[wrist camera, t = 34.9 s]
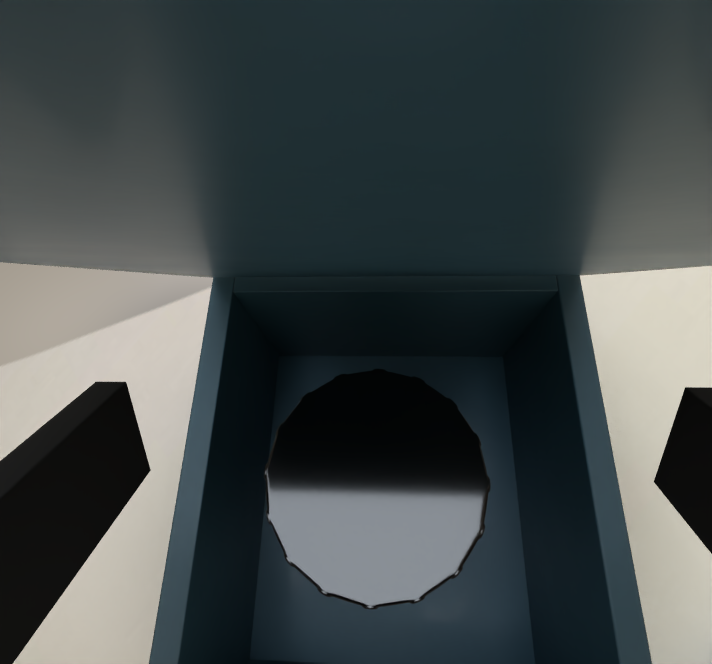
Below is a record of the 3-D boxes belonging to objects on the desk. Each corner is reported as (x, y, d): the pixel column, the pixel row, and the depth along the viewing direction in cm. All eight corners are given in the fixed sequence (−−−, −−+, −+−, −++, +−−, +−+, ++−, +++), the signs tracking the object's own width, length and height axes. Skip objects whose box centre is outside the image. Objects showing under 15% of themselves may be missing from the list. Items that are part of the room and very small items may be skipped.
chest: (552, 692, 21) (687, 846, 12) (234, 674, 22) (125, 803, 13) (513, 347, 27) (579, 269, 18) (269, 346, 29) (213, 272, 19)
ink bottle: (380, 625, 22) (377, 761, 10) (263, 498, 24) (159, 498, 13) (495, 476, 24) (595, 456, 13) (377, 374, 26) (373, 282, 15)
